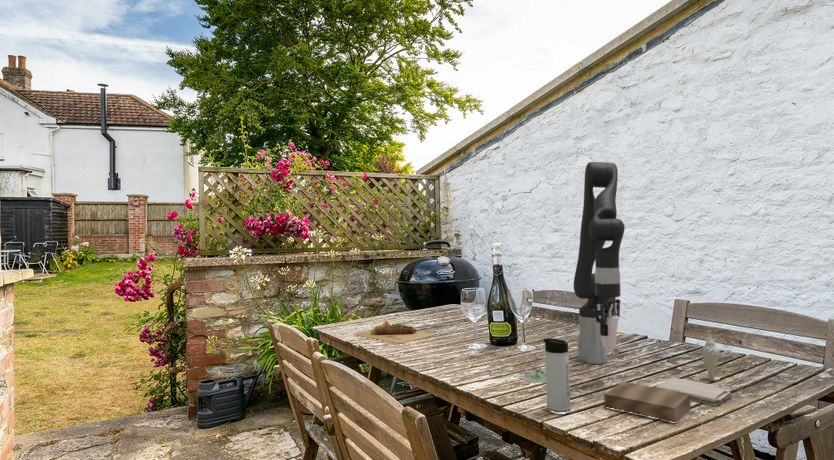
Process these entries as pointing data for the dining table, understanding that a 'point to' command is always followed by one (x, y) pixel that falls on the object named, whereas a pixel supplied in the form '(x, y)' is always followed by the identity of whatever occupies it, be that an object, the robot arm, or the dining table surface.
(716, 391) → the washcloth
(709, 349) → the ice cream cone
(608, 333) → the smoothie
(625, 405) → the walnut base
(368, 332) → the cutting board
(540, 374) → the plant
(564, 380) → the travel mug
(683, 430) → the dining table surface
